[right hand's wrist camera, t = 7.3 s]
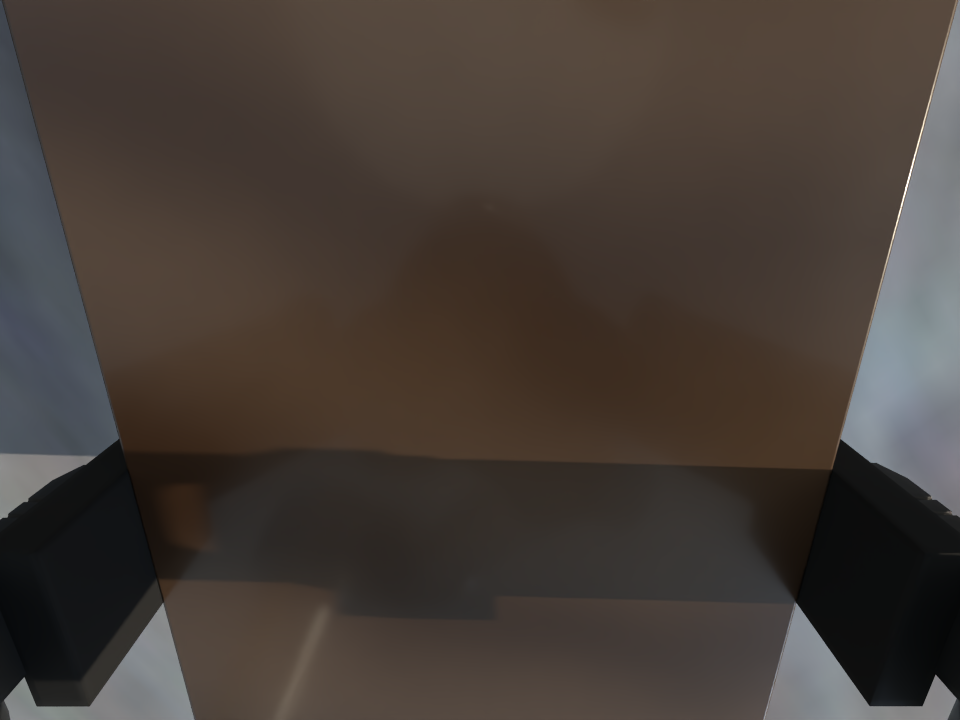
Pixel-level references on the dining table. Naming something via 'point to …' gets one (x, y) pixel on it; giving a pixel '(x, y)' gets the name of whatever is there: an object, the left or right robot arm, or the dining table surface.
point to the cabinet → (479, 329)
